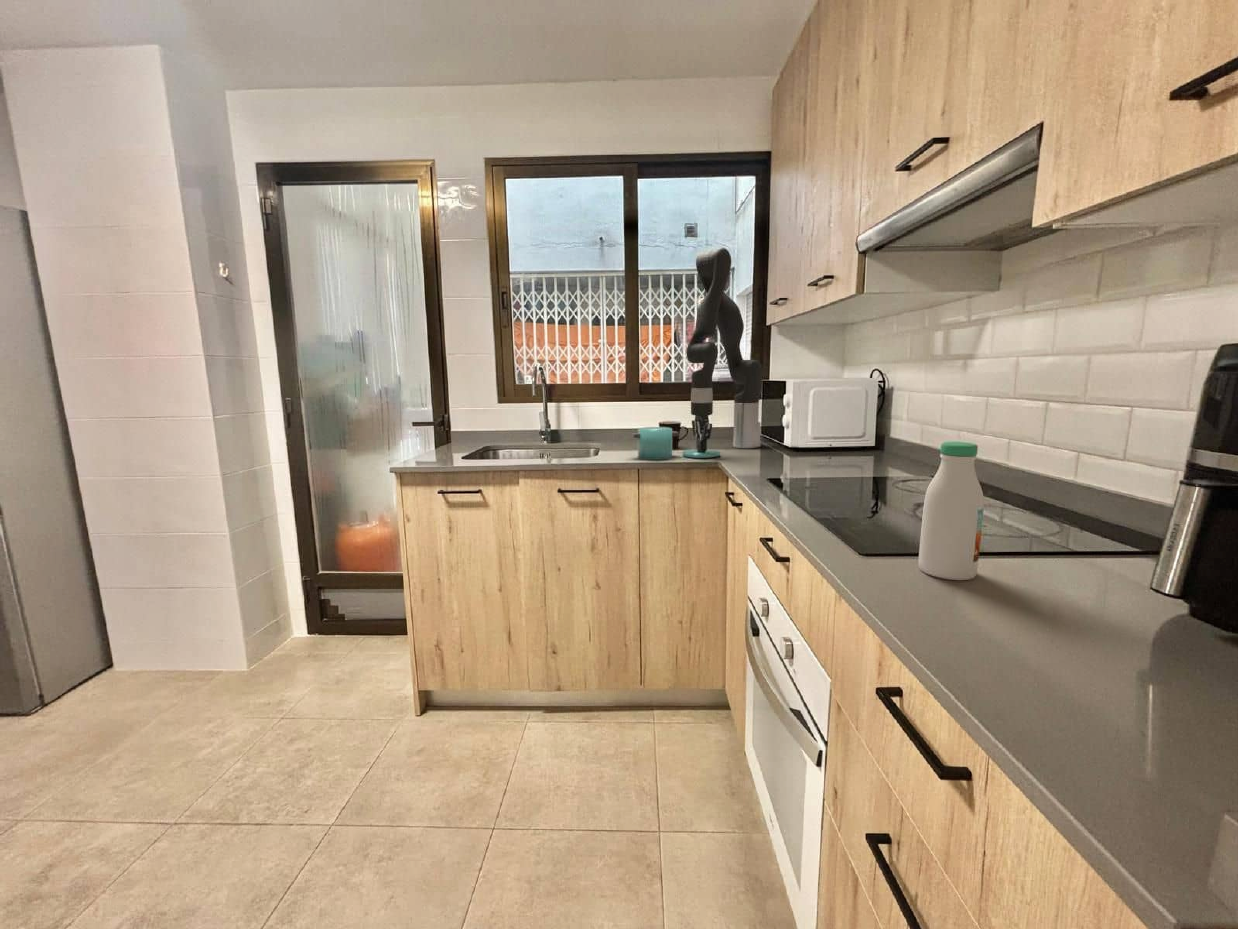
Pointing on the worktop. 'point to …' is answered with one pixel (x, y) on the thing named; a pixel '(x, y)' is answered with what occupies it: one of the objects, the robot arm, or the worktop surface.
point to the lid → (701, 452)
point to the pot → (655, 442)
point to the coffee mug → (675, 427)
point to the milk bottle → (952, 516)
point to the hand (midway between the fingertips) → (701, 449)
